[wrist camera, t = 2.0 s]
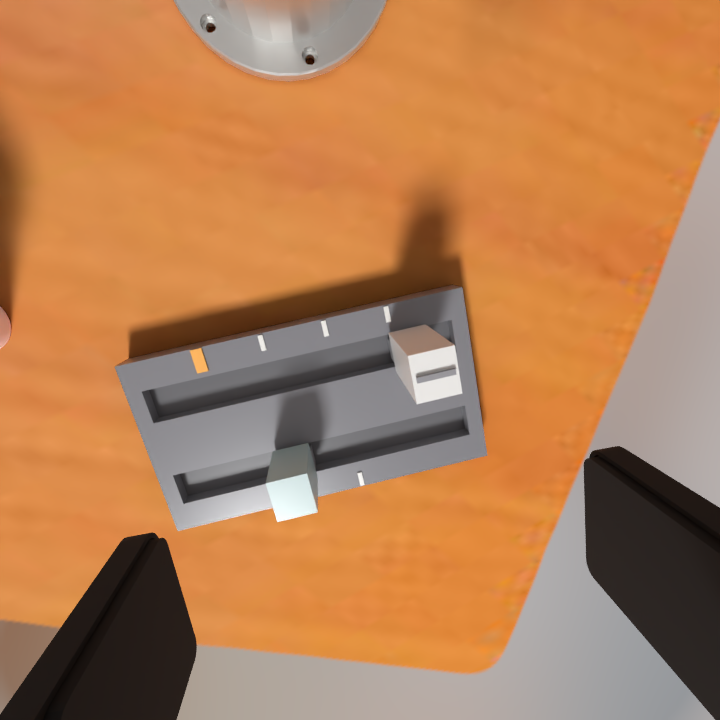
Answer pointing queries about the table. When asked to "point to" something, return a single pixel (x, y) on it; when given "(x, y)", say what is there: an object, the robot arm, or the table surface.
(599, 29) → the table surface
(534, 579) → the table surface
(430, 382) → the block
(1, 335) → the smoothie
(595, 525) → the robot arm
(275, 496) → the fader teal
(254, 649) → the table surface
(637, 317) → the table surface
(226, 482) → the console
